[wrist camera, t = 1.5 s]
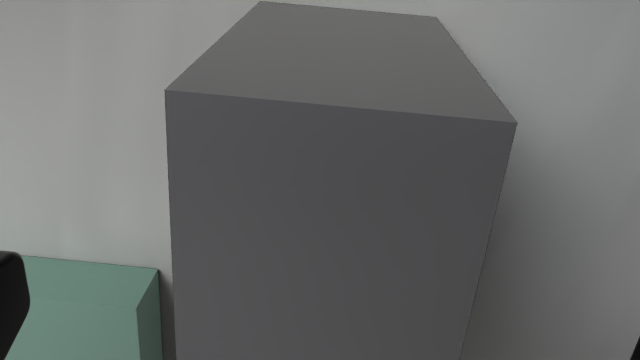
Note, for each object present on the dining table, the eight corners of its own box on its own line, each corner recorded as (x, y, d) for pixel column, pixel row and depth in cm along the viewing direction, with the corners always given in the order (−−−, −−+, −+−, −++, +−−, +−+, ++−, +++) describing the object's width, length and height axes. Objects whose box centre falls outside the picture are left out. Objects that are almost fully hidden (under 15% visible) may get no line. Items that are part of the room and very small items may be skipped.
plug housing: (259, 1, 11) (164, 89, 5) (436, 17, 11) (517, 122, 5) (251, 294, 14) (183, 539, 8) (388, 308, 14) (409, 563, 8)
